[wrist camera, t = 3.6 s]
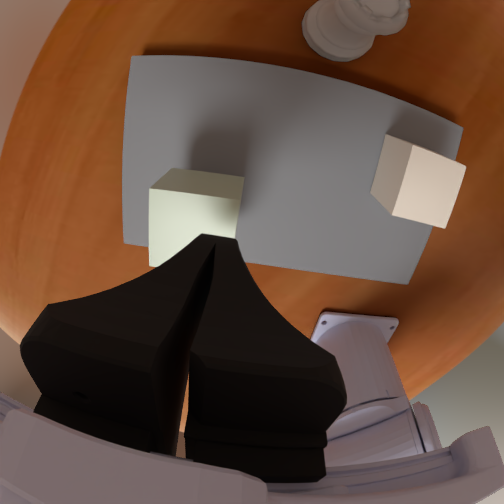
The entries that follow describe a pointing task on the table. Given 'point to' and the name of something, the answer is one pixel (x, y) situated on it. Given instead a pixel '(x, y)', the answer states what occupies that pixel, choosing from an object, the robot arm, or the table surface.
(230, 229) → the pale green cube
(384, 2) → the rook chess piece
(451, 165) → the cream matte cube
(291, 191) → the panel
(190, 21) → the table surface
